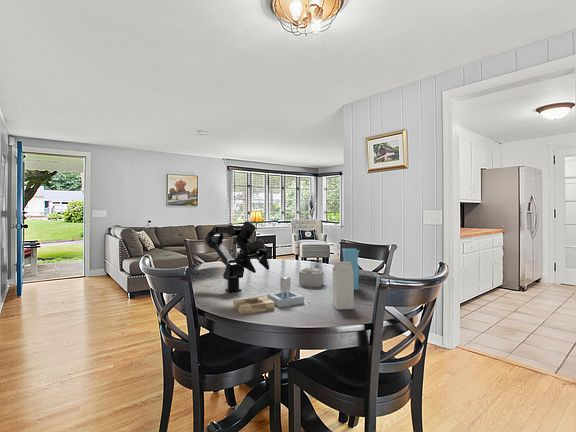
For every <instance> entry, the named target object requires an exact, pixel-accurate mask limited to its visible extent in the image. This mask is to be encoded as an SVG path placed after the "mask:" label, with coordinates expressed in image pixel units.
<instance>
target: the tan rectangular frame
mask: <svg viewBox="0 0 576 432" xmlns="http://www.w3.org/2000/svg"><path fill="white" fill-rule="evenodd" d="M232 303H233V306H232V307H233V309H234V310H235V311H237V312H238V313H239V314H240V315H242V316H243V315H244V316H245V315H251V314H254V313H261V312H266V311H271V310H275V306H276V305H275V304H274V301H272V300H270V299H268V298H267V296H265V295H264V296H256V297H250V298H249V297H248V298H243V299H237V300H236V299H235V300H233V301H232Z"/></svg>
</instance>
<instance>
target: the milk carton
mask: <svg viewBox="0 0 576 432" xmlns="http://www.w3.org/2000/svg"><path fill="white" fill-rule="evenodd" d="M354 291H355V290H354V274H353V269H352V265H351V262H343V261H334V263H333V268H332V305H333V307H334V308H335V309H336V310H339V311H340V310H354V309H355V308H354V306H355V305H354V302H355V301H354V300H355V299H354Z"/></svg>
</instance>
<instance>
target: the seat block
mask: <svg viewBox="0 0 576 432" xmlns="http://www.w3.org/2000/svg"><path fill="white" fill-rule="evenodd" d="M266 298H268V299H270V300H272V301H274V304H275V306H276V307H278V308H283V307H289V306H295V305H302V304H305V296H304V295H302V294H300V293H297V292H295V291H294V290H293V291H292V290H291V289H290V297H288V298H280V291H278V292H272V293H270V292H269V293H267V294H266Z"/></svg>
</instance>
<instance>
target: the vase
mask: <svg viewBox="0 0 576 432" xmlns="http://www.w3.org/2000/svg"><path fill="white" fill-rule="evenodd" d="M341 249H342V250H341V251H342V255H343V259H342V260H343V261H342V262H351V265H352V269H353V274H354V291H358V290H360V287H359V276H360V272H361V271H360V267H359V264H358V263H359V262H358V258H359V255H360V249H358V248H349V247H348V248H341ZM357 249H358V250H357Z"/></svg>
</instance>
